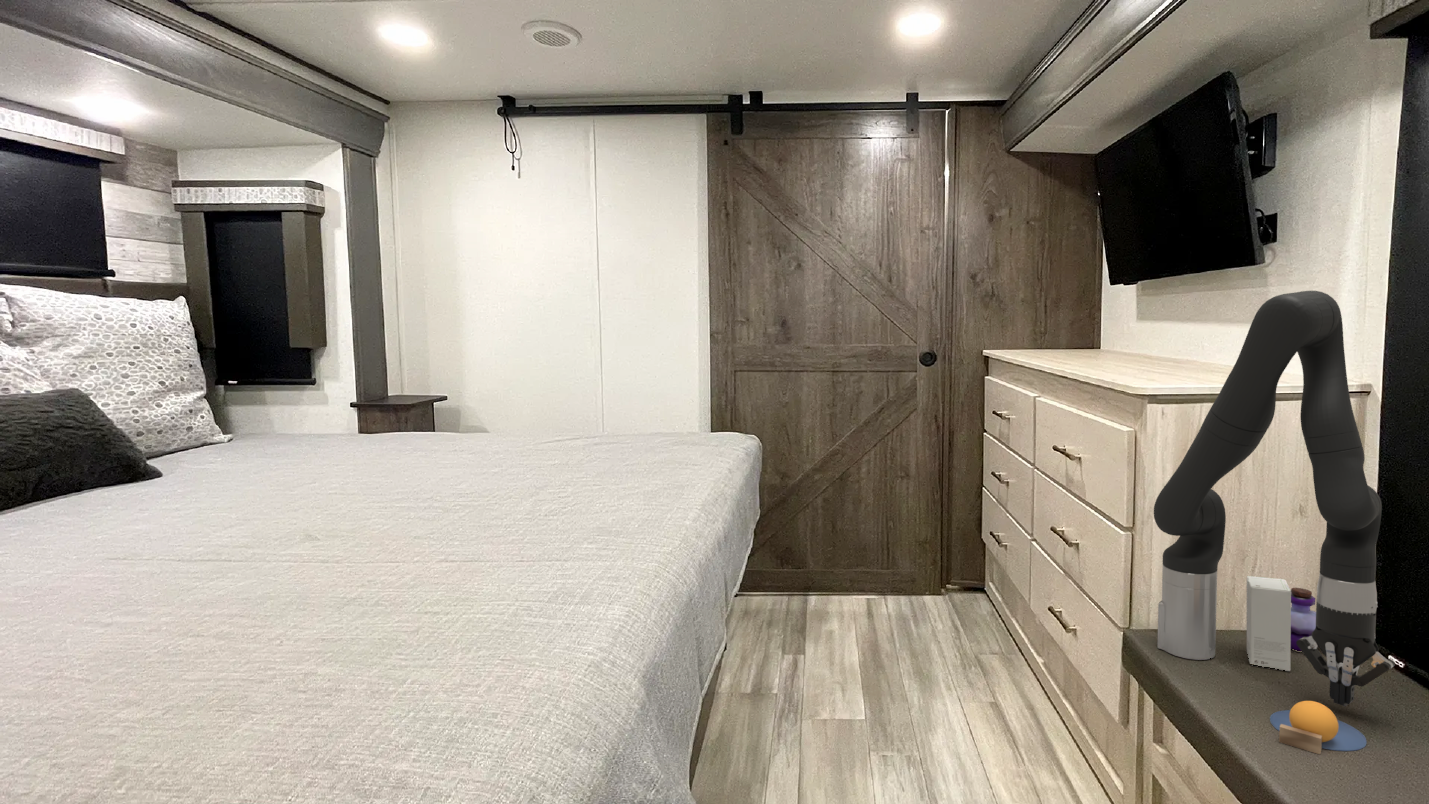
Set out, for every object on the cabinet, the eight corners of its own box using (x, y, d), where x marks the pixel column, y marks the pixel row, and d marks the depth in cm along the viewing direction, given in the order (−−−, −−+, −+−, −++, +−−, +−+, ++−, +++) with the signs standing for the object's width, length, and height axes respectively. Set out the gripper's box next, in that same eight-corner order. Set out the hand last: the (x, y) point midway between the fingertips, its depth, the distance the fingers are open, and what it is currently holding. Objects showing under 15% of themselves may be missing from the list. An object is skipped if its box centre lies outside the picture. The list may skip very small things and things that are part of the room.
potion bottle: (1261, 640, 152) (1263, 583, 151) (1299, 637, 153) (1301, 580, 152) (1298, 658, 143) (1300, 598, 142) (1339, 654, 144) (1341, 595, 143)
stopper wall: (1279, 742, 115) (1279, 726, 115) (1280, 739, 116) (1281, 723, 116) (1320, 754, 112) (1320, 738, 111) (1321, 751, 112) (1322, 735, 112)
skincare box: (1290, 672, 138) (1293, 591, 136) (1247, 665, 141) (1249, 586, 140) (1285, 655, 145) (1287, 578, 143) (1243, 649, 148) (1245, 573, 147)
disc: (1262, 731, 119) (1262, 729, 119) (1278, 703, 127) (1278, 702, 127) (1361, 760, 110) (1361, 759, 110) (1371, 729, 118) (1371, 728, 118)
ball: (1282, 709, 115) (1298, 686, 118) (1282, 737, 118) (1298, 714, 120) (1329, 729, 111) (1345, 704, 113) (1328, 757, 113) (1344, 733, 115)
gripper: (1288, 596, 125) (1284, 694, 127) (1389, 620, 114) (1384, 727, 116) (1307, 587, 129) (1303, 682, 131) (1406, 610, 118) (1401, 713, 120)
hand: (1341, 703), depth 123 cm, fingers closed
